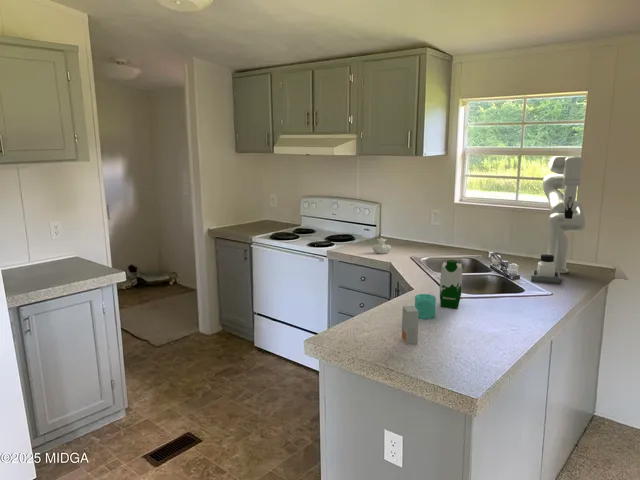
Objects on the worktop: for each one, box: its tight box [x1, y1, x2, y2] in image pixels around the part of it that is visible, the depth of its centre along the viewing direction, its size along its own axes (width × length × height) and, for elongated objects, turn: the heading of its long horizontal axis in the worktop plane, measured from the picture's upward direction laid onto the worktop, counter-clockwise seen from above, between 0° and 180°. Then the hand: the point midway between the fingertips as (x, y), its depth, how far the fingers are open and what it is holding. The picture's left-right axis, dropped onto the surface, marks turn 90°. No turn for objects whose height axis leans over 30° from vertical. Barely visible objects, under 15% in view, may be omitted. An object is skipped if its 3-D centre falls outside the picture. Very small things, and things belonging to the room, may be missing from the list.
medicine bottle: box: [536, 253, 556, 277], centre depth 246 cm, size 7×7×12 cm
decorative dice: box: [414, 293, 437, 320], centre depth 194 cm, size 8×8×8 cm
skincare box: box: [401, 305, 419, 345], centre depth 168 cm, size 6×4×12 cm
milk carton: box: [439, 259, 463, 310], centre depth 205 cm, size 9×9×20 cm
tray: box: [530, 269, 561, 285], centre depth 247 cm, size 13×13×3 cm
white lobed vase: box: [372, 237, 392, 255], centre depth 307 cm, size 12×8×11 cm
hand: (568, 217), depth 240 cm, fingers open, 9 cm apart
